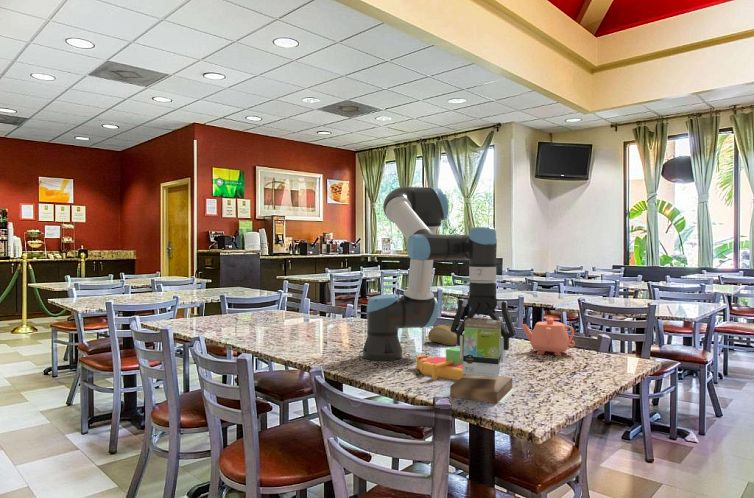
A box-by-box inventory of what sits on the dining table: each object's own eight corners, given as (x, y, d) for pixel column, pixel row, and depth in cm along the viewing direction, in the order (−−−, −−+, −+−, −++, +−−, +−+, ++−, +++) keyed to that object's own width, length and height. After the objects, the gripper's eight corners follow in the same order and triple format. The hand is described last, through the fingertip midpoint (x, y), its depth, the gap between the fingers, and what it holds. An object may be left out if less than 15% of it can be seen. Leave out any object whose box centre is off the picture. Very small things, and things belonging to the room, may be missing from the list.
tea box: (499, 378, 141) (500, 322, 141) (461, 375, 143) (462, 320, 144) (501, 366, 155) (502, 316, 156) (466, 364, 158) (467, 314, 158)
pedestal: (450, 396, 145) (450, 385, 145) (469, 382, 160) (469, 372, 160) (497, 403, 139) (497, 392, 139) (512, 387, 154) (512, 377, 154)
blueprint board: (438, 397, 147) (438, 394, 147) (457, 384, 162) (457, 381, 162) (503, 406, 139) (503, 403, 139) (517, 391, 153) (517, 388, 153)
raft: (434, 363, 191) (435, 338, 191) (510, 377, 171) (510, 350, 171) (394, 375, 174) (394, 347, 174) (472, 392, 154) (473, 361, 154)
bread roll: (436, 340, 237) (436, 322, 237) (464, 344, 227) (464, 325, 227) (423, 342, 230) (423, 324, 230) (450, 347, 220) (450, 328, 220)
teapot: (519, 350, 213) (519, 317, 213) (551, 347, 221) (551, 315, 221) (549, 358, 199) (549, 322, 199) (581, 354, 206) (582, 320, 206)
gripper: (439, 281, 152) (438, 357, 152) (521, 284, 141) (521, 366, 141) (448, 279, 158) (447, 353, 158) (527, 282, 148) (527, 361, 148)
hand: (482, 359), depth 150 cm, fingers closed on tea box, 11 cm apart
